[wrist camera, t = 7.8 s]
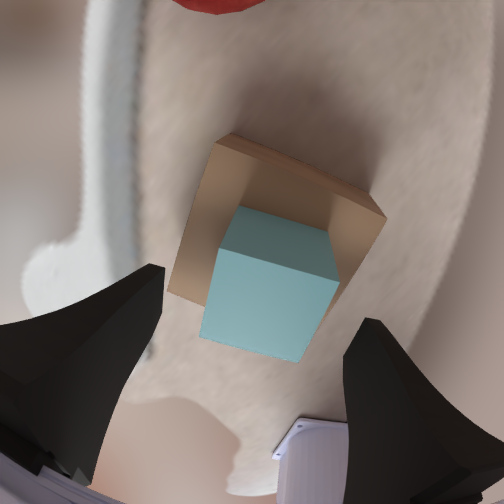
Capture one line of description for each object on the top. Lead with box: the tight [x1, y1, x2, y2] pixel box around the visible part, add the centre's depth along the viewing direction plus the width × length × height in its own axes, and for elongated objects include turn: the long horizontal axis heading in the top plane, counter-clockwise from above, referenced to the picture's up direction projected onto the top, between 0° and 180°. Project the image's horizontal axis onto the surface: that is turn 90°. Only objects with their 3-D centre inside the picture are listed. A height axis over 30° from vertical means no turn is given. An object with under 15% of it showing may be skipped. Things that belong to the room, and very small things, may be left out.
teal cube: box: [199, 205, 340, 363], centre depth 13 cm, size 4×4×4 cm
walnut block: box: [167, 133, 387, 332], centre depth 16 cm, size 8×8×4 cm
